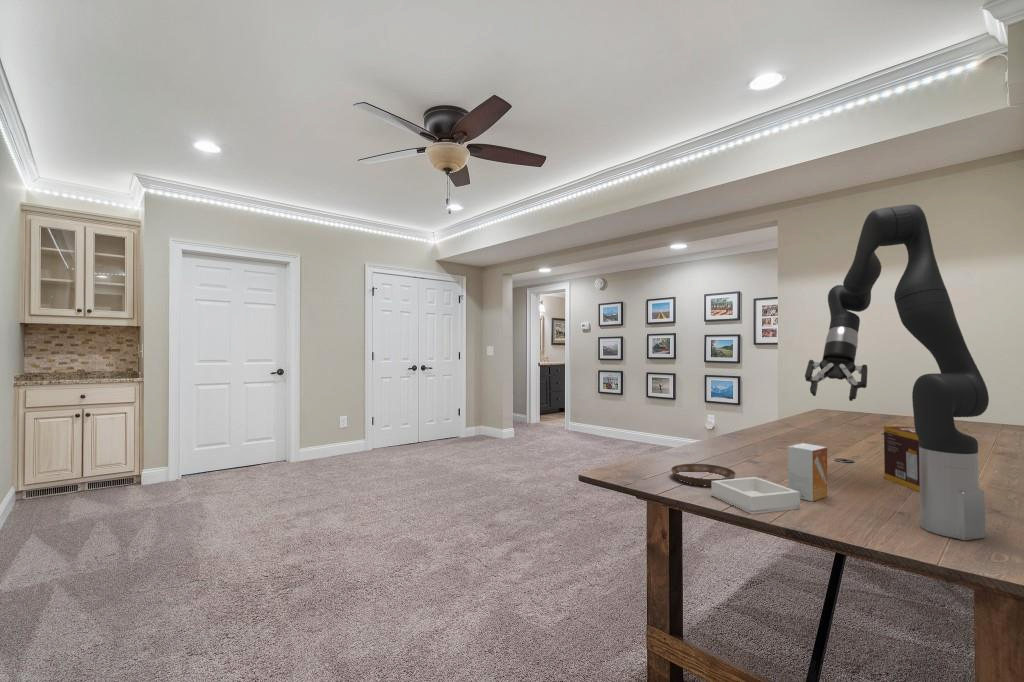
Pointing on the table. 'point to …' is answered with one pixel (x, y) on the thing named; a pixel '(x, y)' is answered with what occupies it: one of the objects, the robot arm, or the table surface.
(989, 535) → the table surface
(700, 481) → the brown round ring
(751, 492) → the grey basin
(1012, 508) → the table surface
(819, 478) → the small box
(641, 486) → the table surface
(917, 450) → the supplement box
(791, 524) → the table surface
